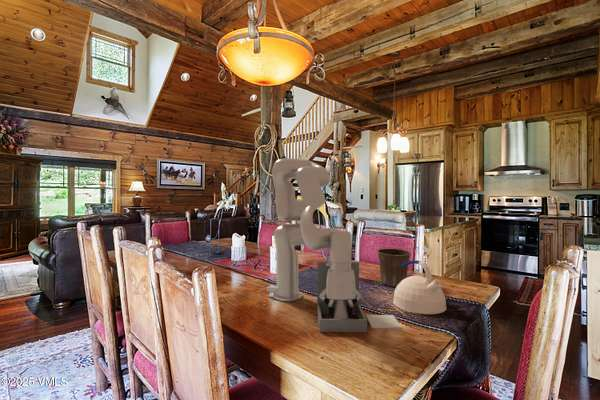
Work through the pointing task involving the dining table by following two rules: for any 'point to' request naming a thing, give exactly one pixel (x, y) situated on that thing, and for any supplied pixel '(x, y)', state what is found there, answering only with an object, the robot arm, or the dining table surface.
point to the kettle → (420, 293)
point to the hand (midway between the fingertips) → (340, 316)
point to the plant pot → (393, 265)
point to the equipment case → (323, 308)
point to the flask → (340, 310)
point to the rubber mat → (383, 321)
